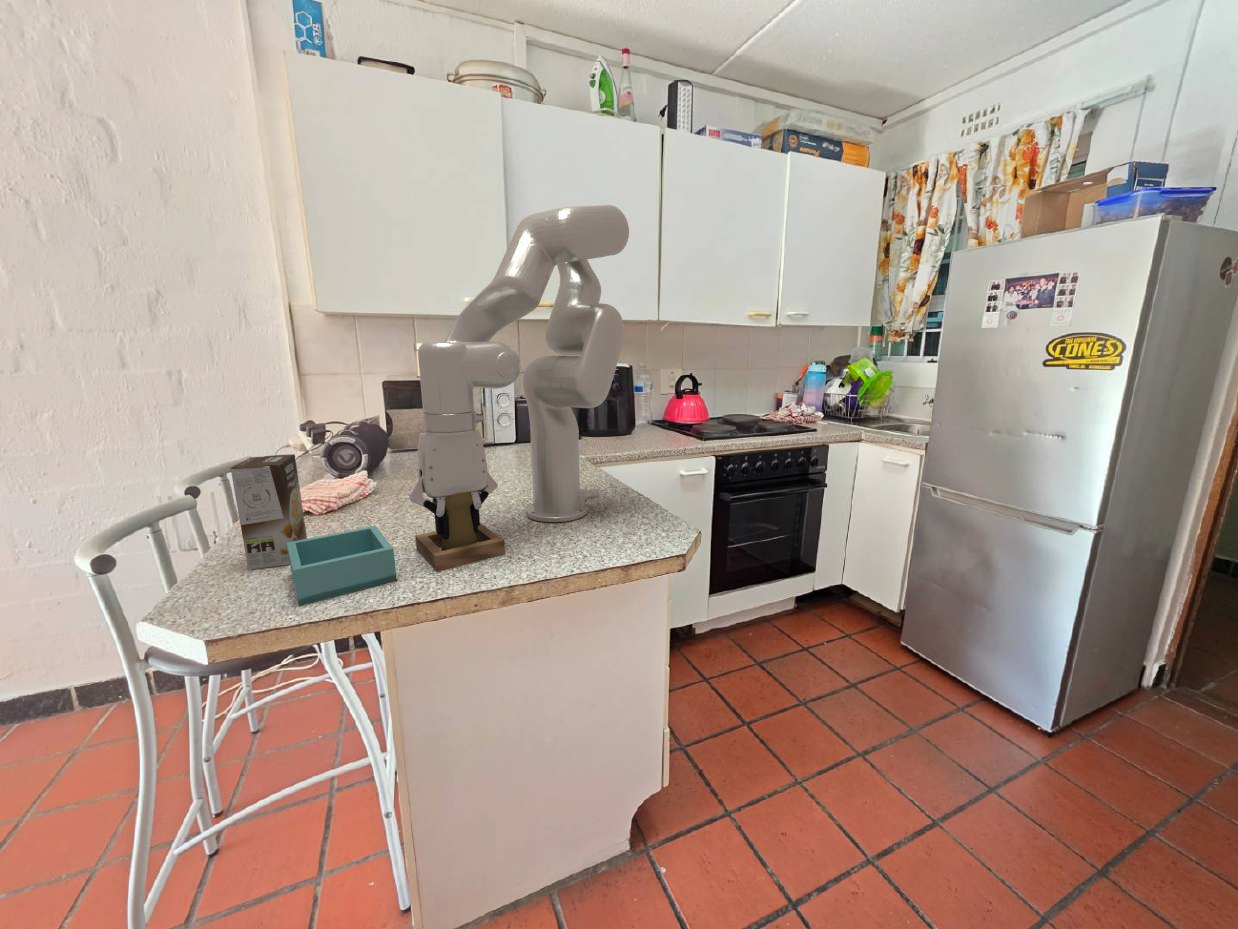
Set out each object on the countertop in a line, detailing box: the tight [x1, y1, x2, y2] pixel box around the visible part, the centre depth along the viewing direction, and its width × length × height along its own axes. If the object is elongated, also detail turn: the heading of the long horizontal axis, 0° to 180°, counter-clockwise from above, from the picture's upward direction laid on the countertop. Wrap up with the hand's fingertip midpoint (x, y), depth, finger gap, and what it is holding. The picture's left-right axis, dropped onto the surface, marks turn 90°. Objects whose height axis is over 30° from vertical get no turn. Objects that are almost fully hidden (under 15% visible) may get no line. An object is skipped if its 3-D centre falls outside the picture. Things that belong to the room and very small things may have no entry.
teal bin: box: [287, 525, 398, 607], centre depth 71 cm, size 12×12×5 cm
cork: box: [440, 492, 479, 551], centre depth 79 cm, size 6×6×11 cm
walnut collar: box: [414, 522, 506, 573], centre depth 80 cm, size 11×11×2 cm
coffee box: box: [229, 453, 308, 571], centre depth 77 cm, size 9×6×16 cm
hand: (458, 532), depth 80 cm, fingers closed on cork, 4 cm apart
